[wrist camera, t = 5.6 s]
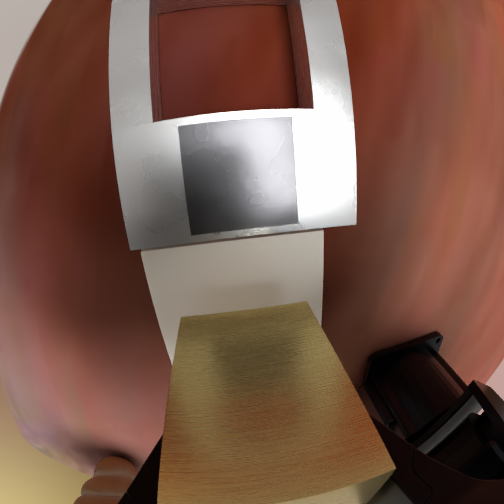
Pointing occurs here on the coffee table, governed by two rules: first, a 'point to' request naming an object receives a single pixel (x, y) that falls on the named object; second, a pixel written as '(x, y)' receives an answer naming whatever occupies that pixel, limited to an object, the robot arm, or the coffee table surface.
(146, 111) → the white flat frame
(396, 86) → the coffee table surface
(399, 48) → the coffee table surface
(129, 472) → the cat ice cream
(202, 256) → the coaster
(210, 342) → the brass metal cube
